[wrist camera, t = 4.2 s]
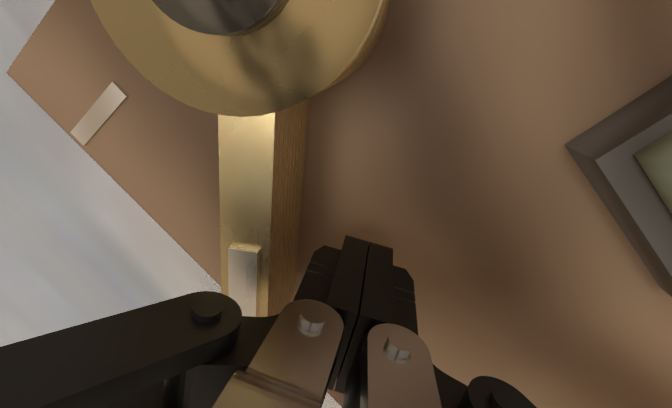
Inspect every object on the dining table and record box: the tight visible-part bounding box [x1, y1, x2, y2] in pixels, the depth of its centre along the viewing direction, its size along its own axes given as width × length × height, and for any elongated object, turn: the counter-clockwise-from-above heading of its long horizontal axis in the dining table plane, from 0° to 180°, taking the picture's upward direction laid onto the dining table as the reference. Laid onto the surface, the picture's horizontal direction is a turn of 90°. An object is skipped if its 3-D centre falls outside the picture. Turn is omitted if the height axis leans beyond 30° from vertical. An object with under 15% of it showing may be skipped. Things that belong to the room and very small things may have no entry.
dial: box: [91, 0, 389, 317], centre depth 9 cm, size 12×5×6 cm, turn 174°
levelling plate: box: [6, 0, 672, 408], centre depth 11 cm, size 19×29×5 cm, turn 40°
